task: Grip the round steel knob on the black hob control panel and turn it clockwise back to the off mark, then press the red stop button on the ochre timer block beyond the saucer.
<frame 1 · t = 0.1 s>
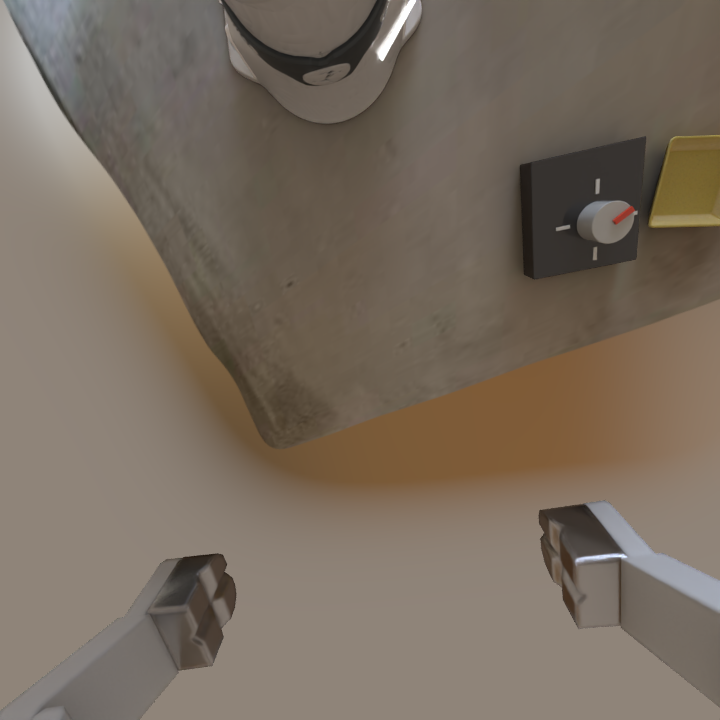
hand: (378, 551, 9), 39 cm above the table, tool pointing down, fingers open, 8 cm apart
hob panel: (571, 212, 42), on the table
saucer: (684, 183, 41), on the table
knob: (605, 221, 38), point 5 cm above the table, hinge at 120.0°
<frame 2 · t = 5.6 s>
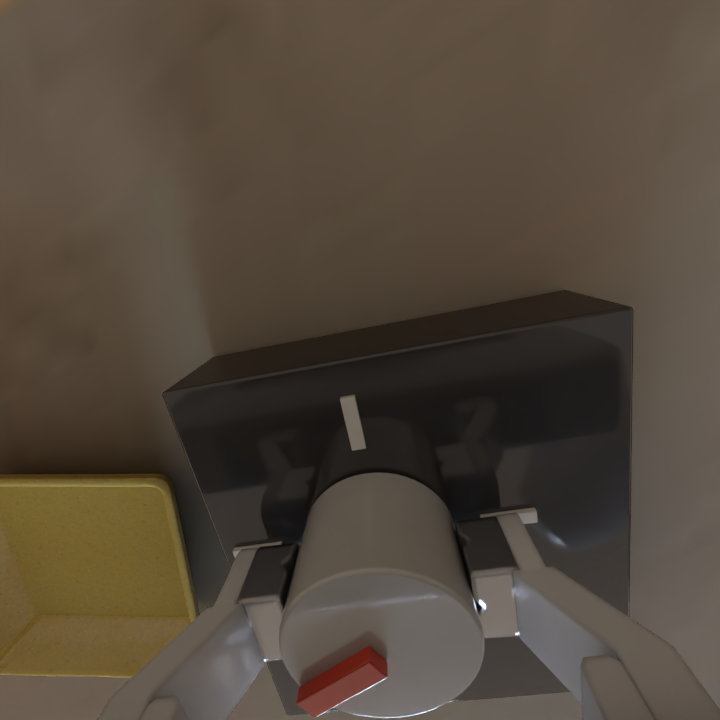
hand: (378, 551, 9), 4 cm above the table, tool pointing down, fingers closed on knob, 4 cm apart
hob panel: (412, 488, 13), on the table
saucer: (110, 538, 15), on the table
knob: (379, 589, 8), point 5 cm above the table, hinge at 120.0°, touching gripper
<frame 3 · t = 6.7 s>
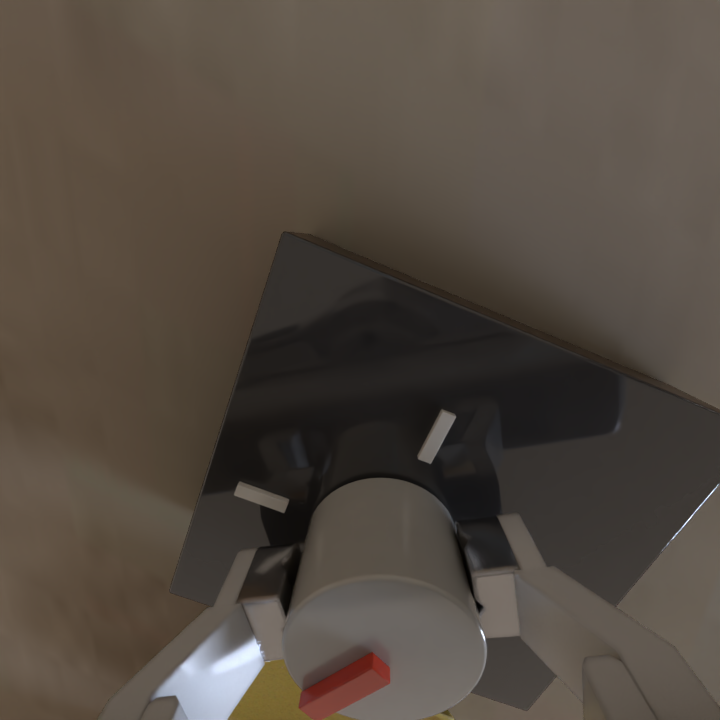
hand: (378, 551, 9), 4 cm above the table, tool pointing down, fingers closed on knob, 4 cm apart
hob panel: (418, 459, 13), on the table
saucer: (313, 676, 17), on the table
knob: (382, 594, 8), point 5 cm above the table, hinge at 62.4°, touching gripper
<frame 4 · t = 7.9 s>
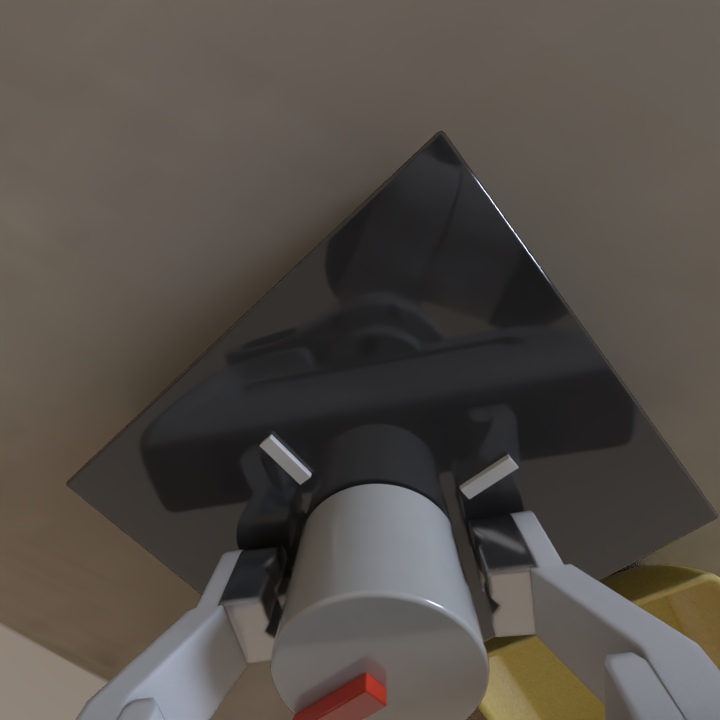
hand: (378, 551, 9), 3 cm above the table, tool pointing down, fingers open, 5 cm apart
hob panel: (381, 439, 12), on the table
saucer: (587, 640, 15), on the table
knob: (378, 608, 8), point 5 cm above the table, hinge at 2.0°
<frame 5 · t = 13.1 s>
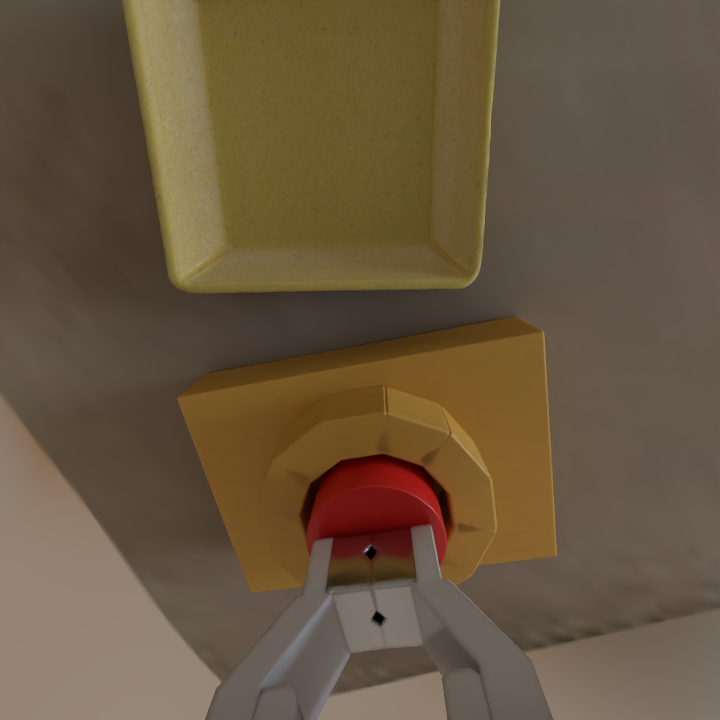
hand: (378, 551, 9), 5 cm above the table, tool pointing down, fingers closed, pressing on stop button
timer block: (376, 445, 14), on the table
stop button: (376, 521, 10), point 4 cm above the table, slide at -0.4 cm, touching gripper
saucer: (325, 136, 11), on the table
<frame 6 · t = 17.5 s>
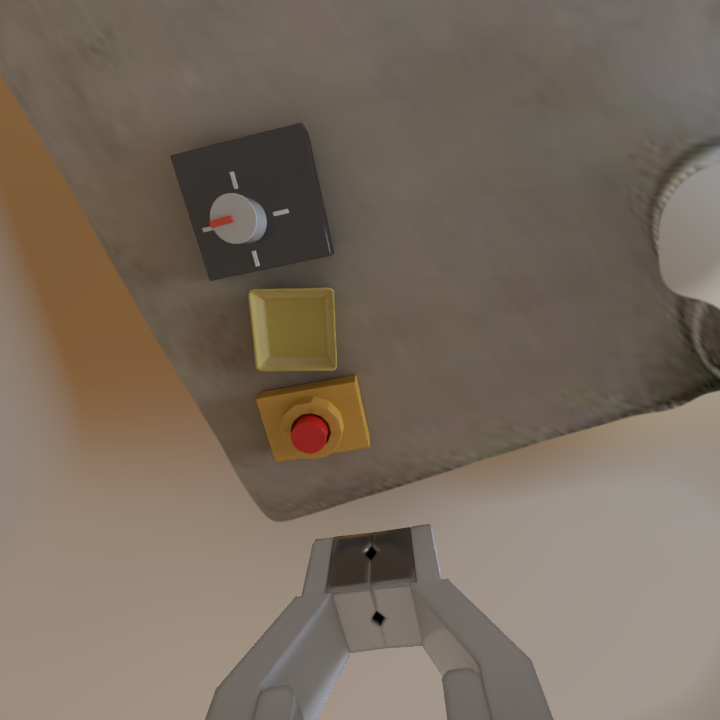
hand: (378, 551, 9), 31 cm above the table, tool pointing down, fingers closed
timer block: (316, 414, 43), on the table
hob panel: (262, 209, 36), on the table
stop button: (309, 434, 39), point 4 cm above the table, slide at 0.1 cm
saucer: (297, 326, 40), on the table
knob: (238, 219, 32), point 5 cm above the table, hinge at 2.0°
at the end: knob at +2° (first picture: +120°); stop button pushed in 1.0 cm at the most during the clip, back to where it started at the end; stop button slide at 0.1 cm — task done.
